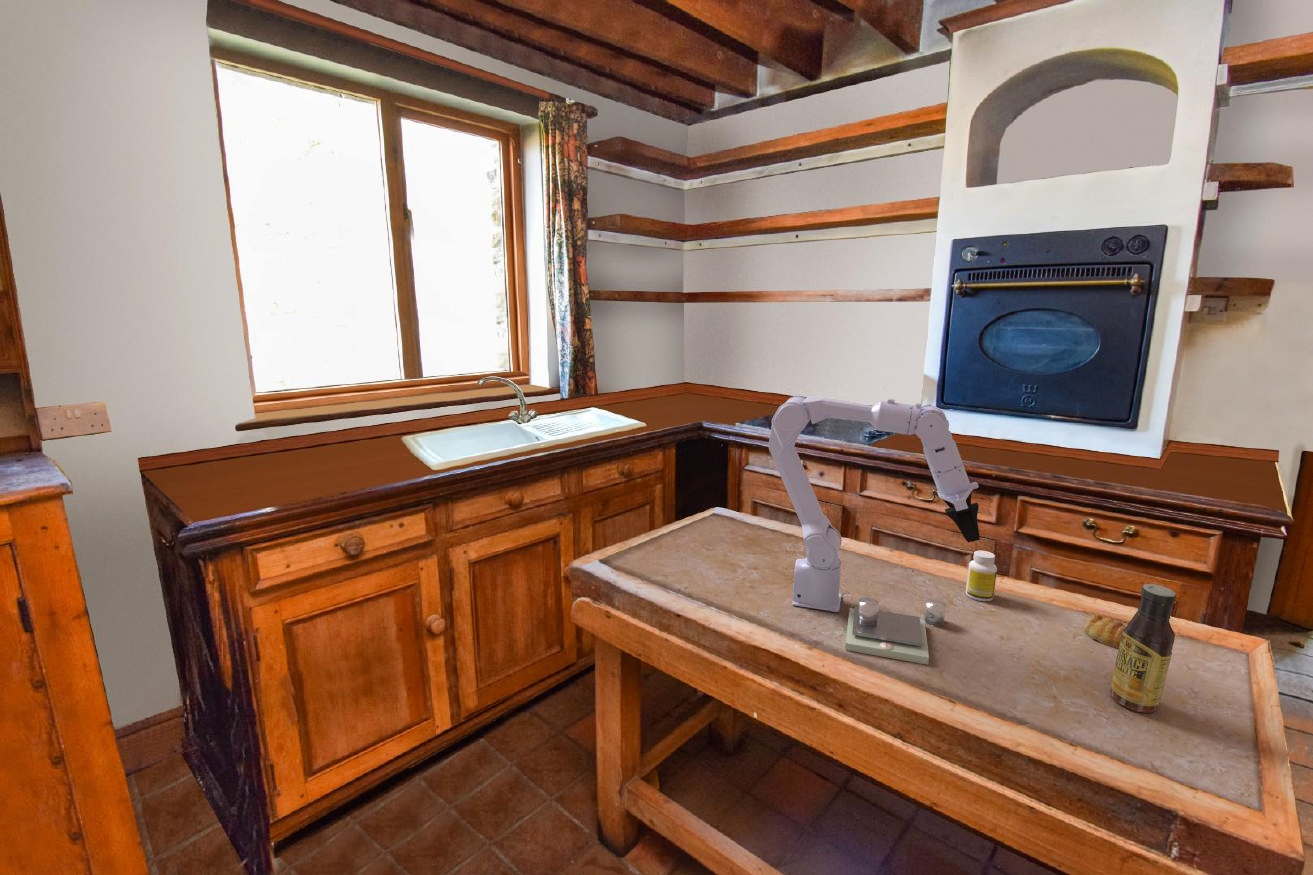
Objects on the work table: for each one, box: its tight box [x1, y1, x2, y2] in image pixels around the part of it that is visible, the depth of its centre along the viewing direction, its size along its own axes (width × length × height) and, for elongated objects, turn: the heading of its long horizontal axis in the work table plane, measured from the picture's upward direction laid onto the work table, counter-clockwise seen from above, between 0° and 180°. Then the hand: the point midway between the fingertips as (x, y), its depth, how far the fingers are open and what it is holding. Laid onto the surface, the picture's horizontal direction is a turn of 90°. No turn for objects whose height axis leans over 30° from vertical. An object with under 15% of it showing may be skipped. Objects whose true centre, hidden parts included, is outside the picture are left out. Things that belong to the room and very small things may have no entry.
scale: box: [844, 607, 930, 666], centre depth 116 cm, size 14×14×2 cm
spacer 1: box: [858, 596, 880, 626], centre depth 117 cm, size 4×4×4 cm
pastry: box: [1083, 613, 1127, 650], centre depth 114 cm, size 9×7×4 cm
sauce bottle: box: [1110, 583, 1177, 714], centre depth 95 cm, size 6×6×20 cm
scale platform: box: [852, 606, 923, 646], centre depth 117 cm, size 12×10×2 cm
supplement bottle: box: [965, 550, 998, 602], centre depth 131 cm, size 5×5×10 cm
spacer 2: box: [923, 598, 946, 627], centre depth 122 cm, size 4×4×4 cm
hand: (970, 533), depth 117 cm, fingers open, 7 cm apart
